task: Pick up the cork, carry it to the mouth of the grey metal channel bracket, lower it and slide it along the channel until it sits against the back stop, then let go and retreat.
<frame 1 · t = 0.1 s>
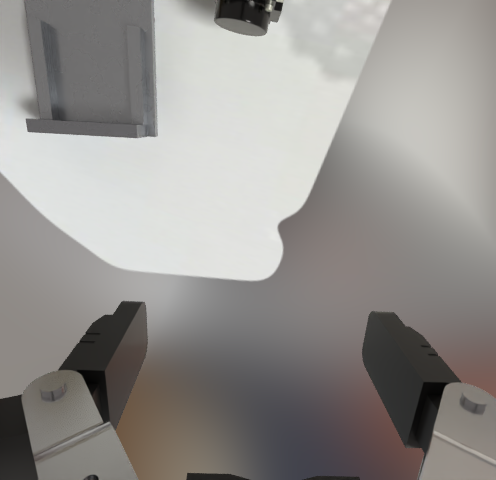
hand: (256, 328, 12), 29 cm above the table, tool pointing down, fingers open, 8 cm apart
bracket: (97, 62, 35), on the table
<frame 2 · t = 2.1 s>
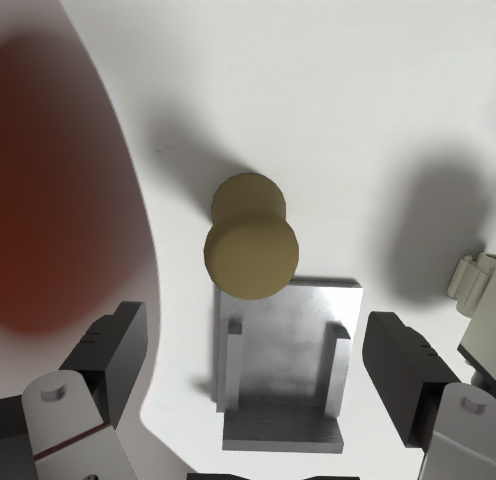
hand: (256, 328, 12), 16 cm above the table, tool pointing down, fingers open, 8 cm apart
pneumatic valve: (472, 277, 30), on the table
bracket: (283, 347, 32), on the table
cork: (248, 210, 28), on the table
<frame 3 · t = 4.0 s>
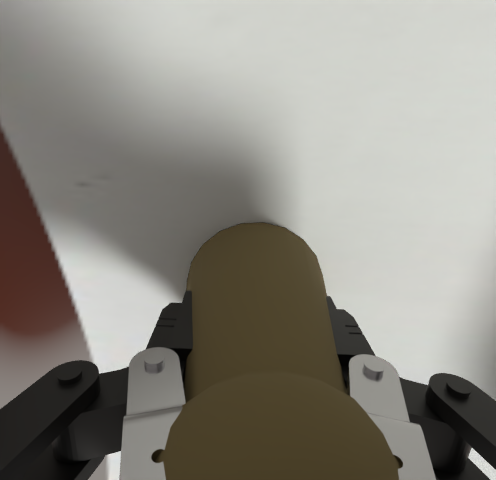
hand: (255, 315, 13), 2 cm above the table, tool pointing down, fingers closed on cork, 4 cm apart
cork: (254, 285, 15), on the table, touching gripper
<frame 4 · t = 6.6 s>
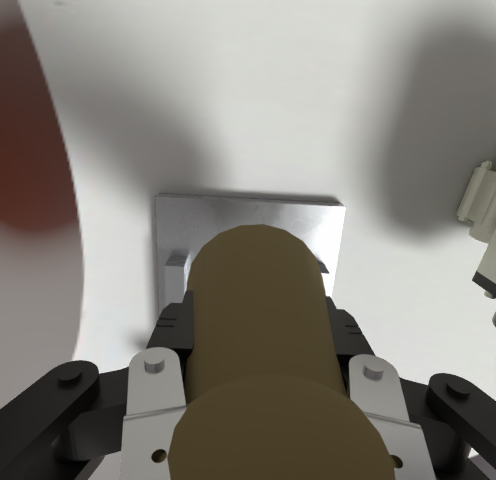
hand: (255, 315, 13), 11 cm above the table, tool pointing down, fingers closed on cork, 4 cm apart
pneumatic valve: (490, 195, 23), on the table
bracket: (245, 293, 25), on the table
cork: (254, 286, 15), point 8 cm above the table, touching gripper
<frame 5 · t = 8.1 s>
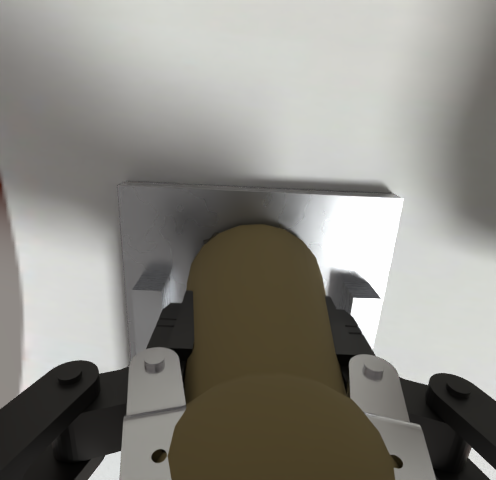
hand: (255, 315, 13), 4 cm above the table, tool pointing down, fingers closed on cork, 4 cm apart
bracket: (252, 323, 18), on the table
cork: (254, 286, 15), point 1 cm above the table, touching gripper
when the fingers open (4 cm above the table, at t = 9.4 s): cork stays where it is, resting on bracket.
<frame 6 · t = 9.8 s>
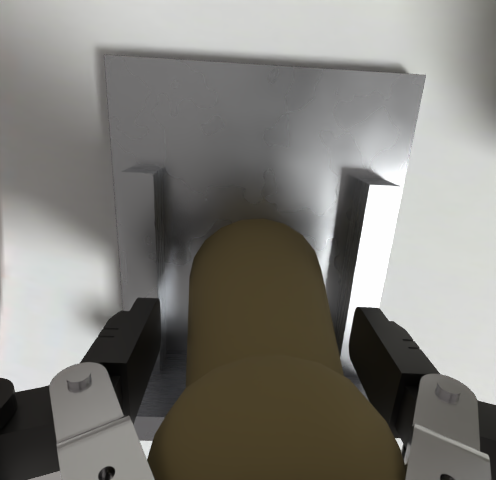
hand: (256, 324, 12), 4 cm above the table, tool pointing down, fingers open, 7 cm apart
bracket: (255, 235, 16), on the table
cork: (255, 280, 16), point 1 cm above the table, touching bracket
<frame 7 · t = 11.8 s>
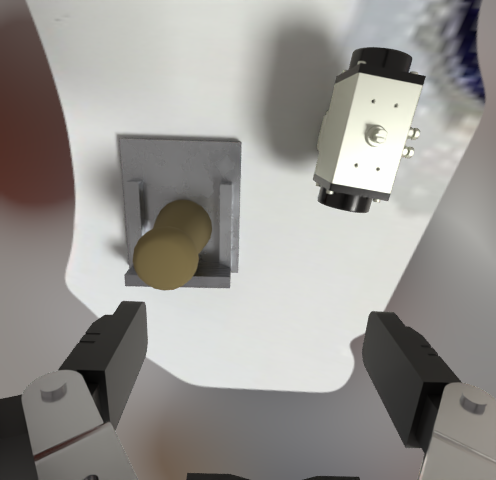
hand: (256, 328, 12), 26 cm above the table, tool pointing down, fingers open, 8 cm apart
pneumatic valve: (338, 135, 35), on the table
bracket: (183, 207, 37), on the table
cork: (184, 227, 37), point 1 cm above the table, touching bracket
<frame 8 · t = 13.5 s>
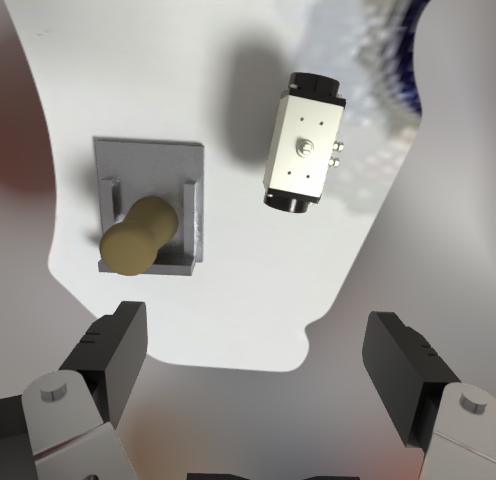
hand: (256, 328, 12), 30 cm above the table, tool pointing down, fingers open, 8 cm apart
pneumatic valve: (291, 142, 39), on the table
bracket: (153, 203, 41), on the table
cork: (153, 220, 41), point 1 cm above the table, touching bracket
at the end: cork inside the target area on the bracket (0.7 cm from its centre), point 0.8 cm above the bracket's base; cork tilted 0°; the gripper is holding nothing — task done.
